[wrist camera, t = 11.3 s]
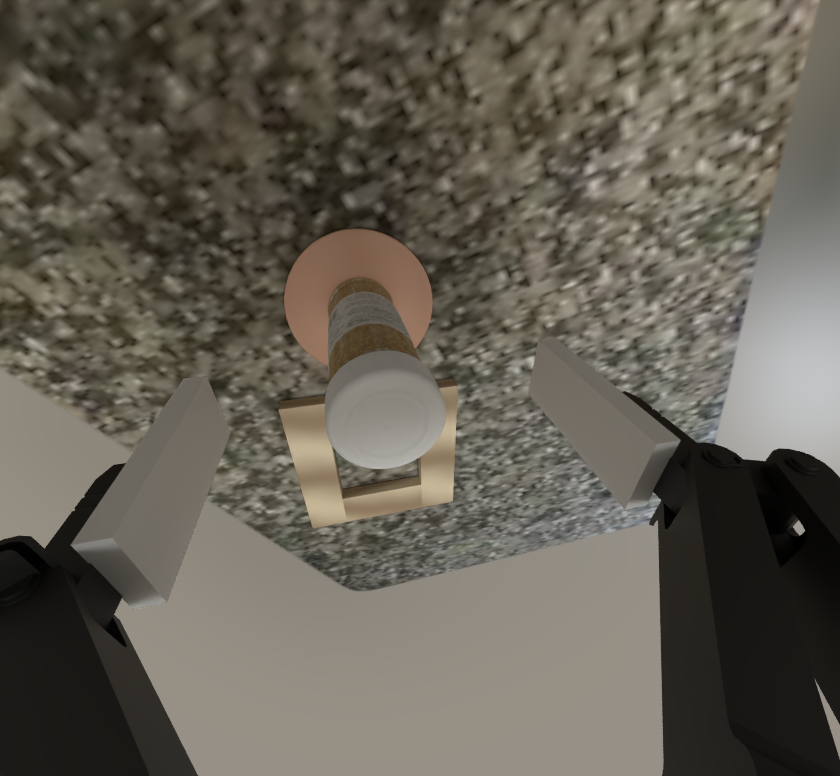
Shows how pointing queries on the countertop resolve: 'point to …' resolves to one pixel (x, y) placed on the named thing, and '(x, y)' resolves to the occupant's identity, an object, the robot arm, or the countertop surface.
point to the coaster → (346, 260)
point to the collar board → (365, 501)
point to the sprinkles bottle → (377, 382)
